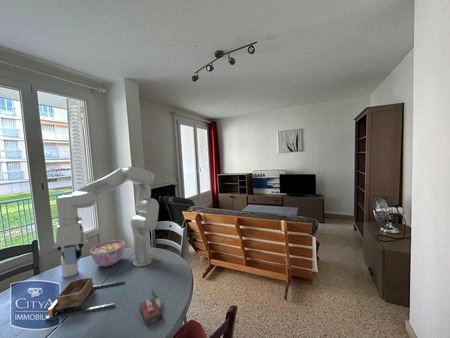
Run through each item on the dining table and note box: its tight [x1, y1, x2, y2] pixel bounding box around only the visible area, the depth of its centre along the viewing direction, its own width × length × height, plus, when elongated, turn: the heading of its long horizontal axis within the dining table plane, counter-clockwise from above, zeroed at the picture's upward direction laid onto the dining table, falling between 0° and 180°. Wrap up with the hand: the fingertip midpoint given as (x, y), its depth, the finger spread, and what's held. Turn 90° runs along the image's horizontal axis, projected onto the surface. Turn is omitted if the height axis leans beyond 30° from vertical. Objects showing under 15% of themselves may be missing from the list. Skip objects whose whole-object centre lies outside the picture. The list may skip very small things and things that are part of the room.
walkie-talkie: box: [139, 290, 163, 326], centre depth 91 cm, size 9×4×20 cm
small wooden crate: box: [56, 276, 95, 314], centre depth 98 cm, size 10×15×8 cm, turn 14°
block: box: [63, 245, 81, 265], centre depth 96 cm, size 4×4×8 cm
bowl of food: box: [89, 239, 125, 268], centre depth 133 cm, size 20×20×12 cm
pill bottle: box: [60, 255, 79, 278], centre depth 123 cm, size 8×8×15 cm
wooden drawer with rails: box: [45, 280, 125, 321], centre depth 99 cm, size 27×19×5 cm
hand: (72, 258), depth 97 cm, fingers closed on block, 4 cm apart
